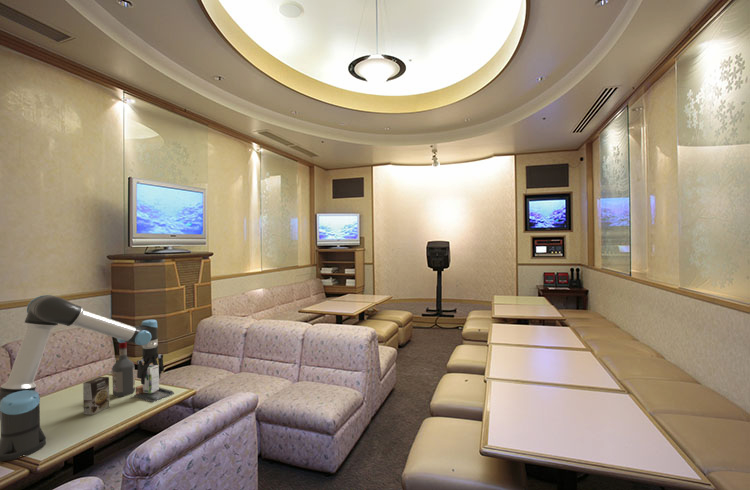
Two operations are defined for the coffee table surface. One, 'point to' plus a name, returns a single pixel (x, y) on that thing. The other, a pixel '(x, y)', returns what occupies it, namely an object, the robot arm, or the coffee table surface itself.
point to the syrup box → (152, 379)
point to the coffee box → (96, 395)
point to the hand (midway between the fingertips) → (151, 386)
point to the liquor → (123, 374)
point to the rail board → (152, 394)
